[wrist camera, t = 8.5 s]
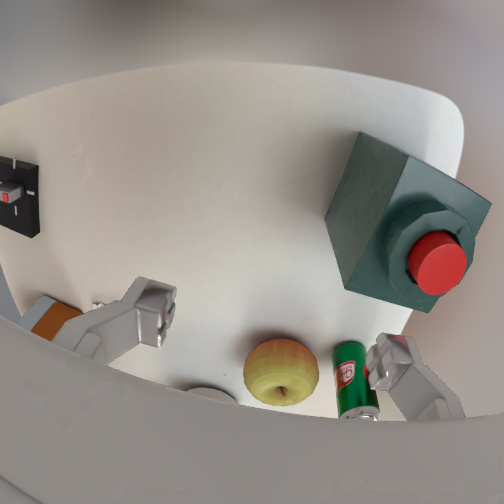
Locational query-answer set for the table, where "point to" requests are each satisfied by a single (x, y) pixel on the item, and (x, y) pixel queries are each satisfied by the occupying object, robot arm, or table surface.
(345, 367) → the soda can
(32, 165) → the black flat square piece
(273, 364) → the apple
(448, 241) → the button
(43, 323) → the alarm clock
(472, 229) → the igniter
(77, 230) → the table surface
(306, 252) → the table surface
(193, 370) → the table surface
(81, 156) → the table surface
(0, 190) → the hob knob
